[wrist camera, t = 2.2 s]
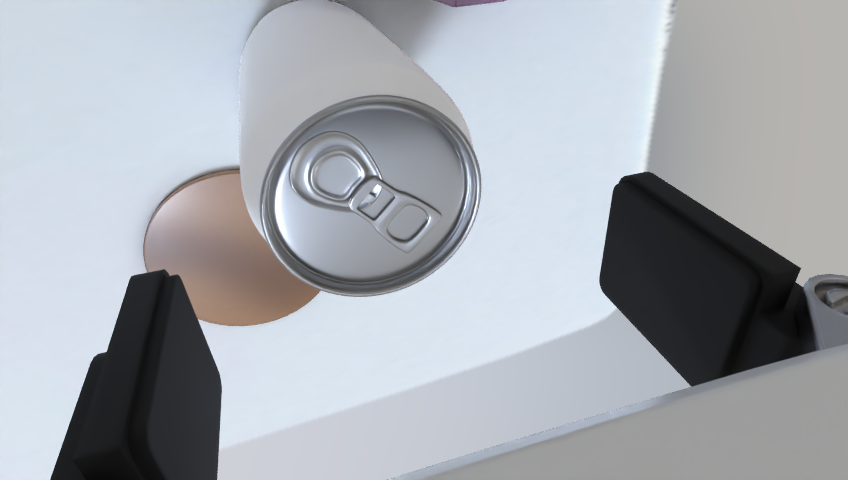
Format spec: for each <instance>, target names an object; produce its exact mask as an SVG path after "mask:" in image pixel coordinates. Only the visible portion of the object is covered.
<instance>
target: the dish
mask: <svg viewBox="0 0 848 480" xmlns="http://www.w3.org/2000/svg"><path fill="white" fill-rule="evenodd" d="M434 1H437V2H440V3H443V4H445V5H448V6H451V7H462V6H470V5H479V4H487V3H495V2H503V1H505V0H434Z"/></svg>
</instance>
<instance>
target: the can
mask: <svg viewBox="0 0 848 480" xmlns="http://www.w3.org/2000/svg"><path fill="white" fill-rule="evenodd" d="M239 155H240V176H241V186H242V192H243V196H244V200H245V203H246V207H247V209H248V212H249V215H250V217H251V219H252V221H253V223H254V225H255V226H256V228H257V230H258V231H259V232H260V234H261V235H262V236H263V238H264V239H265V240H266V241H267V243H268V245H269V247H270V249H271V250H272V252H273V254H274V255H275V257H276V258H277V259H278V260H279V262H280V263H281V264H282V265H283V266H284V267H285V268H286V269H287V270H288V271H289V272H290V273H291V274H293V275H294V276H295V277H297V278H298V279H299V280H301V281H303V282H304V283H306V284H308V285H310V286H312V287H314V288H316V289H319V290H322V291H325V292H328V293H332V294H336V295H342V296H352V297H366V296H376V295H382V294H387V293H391V292H395V291H398V290H401V289H404V288H406V287H409V286H411V285H413V284H415V283H417V282H419V281H421V280H423V279H424V278H426V277H428V276H429V275H431V274H432V273H434V272H435V271H436V270H438V269H439V268H440V267H441V266H442V265H444V264H445V263H446V262H447V261H448V260H449V259H450V258H451V257H452V256H453V255H454V254H455V252H456V251H457V250H458V249H459V247H460V246H461V245H462V243H463V242H464V240H465V239H466V237H467V235H468V234H469V232H470V230H471V228H472V226H473V223H474V221H475V218H476V215H477V212H478V208H479V204H480V197H481V174H480V168H479V164H478V160H477V157H476V155H475V152H474V150H473V145H472V140H471V136H470V133H469V130H468V127H467V124H466V122H465V120H464V118H463V116H462V114H461V112H460V111H459V109H458V108H457V106H456V105H455V103H454V102H453V100H452V99H451V98H450V96H449V95H448V94H447V93H446V92H445V91H444V90H443V89H442V88H441V87H440V86H439V85H438V83H436V82H435V81H434V80H433V79H432V78H431V77H430V76H429V75H428V74H427V73H426V72H425V71H424V70H423V69H422V68H420V67H419V66H418V65H417V64H416V63H415V62H414V61H413V60H412V59H411V58H409V57H408V56H407V55H406V54H405V53H404V52H403V51H402V50H401V49H399V48H398V47H397V46H396V45H395V44H394V43H393V42H392V41H391V40H389V39H388V38H387V37H386V36H385V35H384V34H383V33H381V32H380V31H379V30H378V29H377V28H376V27H375V26H373V25H372V24H371V23H370V22H369V21H368V20H366V19H365V18H364V17H363V16H361V15H360V14H358V13H357V12H355V11H354V10H352V9H350V8H348V7H346V6H344V5H341V4H339V3H336V2H332V1H328V0H299V1H294V2H291V3H288V4H285V5H283V6H280V7H278V8H276V9H274V10H273V11H271V12H269V13H268V14H267V15H265V16H264V17H263V18H262V19H261V20H260V21H259V23H258V24H257V25H256V26H255V28H254V29H253V31H252V33H251V34H250V36H249V38H248V40H247V43H246V45H245V47H244V50H243V53H242V57H241V61H240V68H239Z"/></svg>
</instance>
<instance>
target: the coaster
mask: <svg viewBox="0 0 848 480" xmlns="http://www.w3.org/2000/svg"><path fill="white" fill-rule="evenodd" d="M143 256H144V261H145V267H146V269H147V272H153V271H158V270H163V269H164V270H166V271H167V272H168V273H169V275H170V276H171V275H176V274H178V275H179V276H180V277H181V279H182V282H183V284H184V287H185V289H186V292H187V294H188V297H189V299H190V302H191V304H192V307H193V309H194V312H195V314H196V317H197V319H200V320H203V321H206V322H210V323H214V324H219V325H228V326H248V325H257V324H263V323H267V322H271V321H274V320H277V319H280V318H282V317H285V316H287V315H289V314H291V313H293V312H295V311H297V310H298V309H300V308H301V307H303V306H304V305H306V304H307V303H308V302H309V301H311V300H312V299H313V298H314V297H315V296H316V295H317V294H318V293H319V292H320V290H319V289H316V288H314V287H312V286H310V285H308V284H306V283H304V282H303V281H301V280H299V279H298V278H297V277H295V276H294V275H293V274H291V273H290V272H289V271H288V270H287V269H286V268H285V267H284V266H283V265H282V264H281V263H280V262H279V260H278V259H277V258H276V257H275V255H274V254H273V252H272V250H271V249H270V247H269V245H268V243H267V241H266V240H265V239H264V238H263V236H262V235H261V234H260V232H259V231H258V230H257V228H256V226H255V225H254V223H253V221H252V219H251V217H250V215H249V212H248V209H247V207H246V203H245V200H244V196H243V192H242V186H241V176H240V170H229V171H220V172H216V173H212V174H208V175H205V176H202V177H199V178H197V179H194V180H192V181H190V182H188V183H186V184H184V185H183V186H181V187H180V188H178V189H177V190H175V191H174V192H172V193H171V194H170V195H169V196H168V197H167V198H166V199H165V200H164V201H163V202H162V203H161V204H160V206H159V207H158V208H157V209H156V211H155V213H154V214H153V216H152V218H151V220H150V222H149V225H148V228H147V230H146V234H145V239H144V245H143Z"/></svg>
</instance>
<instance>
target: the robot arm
mask: <svg viewBox="0 0 848 480" xmlns="http://www.w3.org/2000/svg"><path fill="white" fill-rule="evenodd" d="M800 269H801V268H800V267H798V266H796V265H795V264H793V263H792V262H790V261H789V260H787V259H785V258H784V257H782V256H781V255H779V254H778V253H776V252H775V251H773V250H772V249H770V248H768V247H767V246H765V245H764V244H762V243H761V242H759V241H758V240H756V239H754V238H753V237H751V236H750V235H748V234H746V233H745V232H743V231H742V230H740V229H739V228H737V227H736V226H734V225H733V224H731V223H729V222H728V221H726V220H725V219H723V218H721V217H720V216H718V215H717V214H715V213H714V212H712V211H711V210H709V209H707V208H706V207H704V206H703V205H701V204H700V203H698V202H697V201H695V200H693V199H692V198H690V197H689V196H687V195H686V194H684V193H683V192H681V191H679V190H678V189H676V188H675V187H673V186H672V185H670V184H668V183H667V182H665V181H664V180H662V179H661V178H659V177H658V176H656V175H654V174H653V173H650V172H643V173H638V174H633V175H628V176H624V177H623V178H621V180H620V181H619V184H617V185H616V186H615V187H614V190H613V195H612V201H611V208H610V214H609V220H608V227H607V233H606V240H605V246H604V252H603V259H602V265H601V272H600V279H599V281H600V286H601V289H602V291H603V293H604V294H605V295H606V296H607V297H608V298H609V299H610V301H611V302H612V303H613V304H614V305H615V306H616V307H617V308H618V309H619V310H620V311H621V312H622V313H623V314H624V315H625V316H626V318H628V320H629V321H630V322H631V323H632V324H633V325H634V326H635V327H636V328H637V329H638V330H639V331H640V332H641V333H642V335H643V336H644V337H645V338H646V339H647V340H648V341H649V342H650V343H651V344H652V345H653V346H654V347H655V348H656V349H657V350H658V351H659V353H660V354H661V355H662V356H663V357H664V358H665V359H666V360H667V361H668V362H669V363H670V364H671V365H672V366H673V367H674V369H675V370H676V371H677V372H678V373H679V374H680V375H681V376H682V377H683V378H684V379H685V380H686V381H687V382H688V383H689V384H690V386H691V387H689V388H686V389H683V390H679V391H676V392H672V393H669V394H666V395H662V396H659V397H656V398H652V399H649V400H646V401H643V402H639V403H636V404H632V405H629V406H626V407H623V408H619V409H616V410H612V411H609V412H606V413H603V414H599V415H596V416H593V417H590V418H586V419H583V420H579V421H576V422H573V423H569V424H566V425H563V426H560V427H556V428H553V429H550V430H546V431H543V432H540V433H537V434H533V435H530V436H527V437H523V438H520V439H517V440H514V441H511V442H507V443H504V444H501V445H498V446H494V447H491V448H487V449H484V450H481V451H478V452H474V453H471V454H468V455H465V456H462V457H458V458H455V459H452V460H449V461H446V462H442V463H439V464H436V465H432V466H429V467H426V468H423V469H420V470H416V471H413V472H410V473H407V474H403V475H400V476H397V477H394V478H391V479H387V480H848V276H844V275H834V274H825V275H818V276H815V277H812V278H809V280H808V281H807V282H806V283H805V284H804V287H802V286H800V285H799V284H797V283H796V282H795V281H796V279H797V277H798V274H799V272H800ZM221 394H222V386H221V379H220V375H219V371H218V369H217V366H216V364H215V361H214V359H213V356H212V354H211V351H210V349H209V346H208V344H207V341H206V339H205V336H204V334H203V331H202V329H201V326H200V324H199V321H198V319H197V317H196V314H195V312H194V309H193V307H192V304H191V302H190V299H189V297H188V294H187V292H186V289H185V287H184V284H183V282H182V279H181V277H180V276H179V275H178V274H176V275H171V276H170V275H169V273H168V272H167V271H166V270H164V269H163V270H158V271H153V272H148V273H143V274H138V275H134V276H131V278H130V280H129V284H128V287H127V290H126V293H125V296H124V299H123V302H122V306H121V309H120V312H119V315H118V318H117V321H116V324H115V328H114V331H113V334H112V337H111V340H110V343H109V346H108V350H107V352H105V353H101V354H98V355H96V356H95V357H94V358H93V360H92V362H91V364H90V367H89V369H88V372H87V375H86V378H85V381H84V384H83V387H82V390H81V393H80V395H79V398H78V401H77V404H76V407H75V410H74V413H73V416H72V419H71V421H70V424H69V427H68V430H67V433H66V436H65V439H64V442H63V445H62V447H61V450H60V453H59V456H58V459H57V462H56V465H55V468H54V471H53V473H52V476H51V479H50V480H217V471H218V452H219V432H220V413H221Z"/></svg>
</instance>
